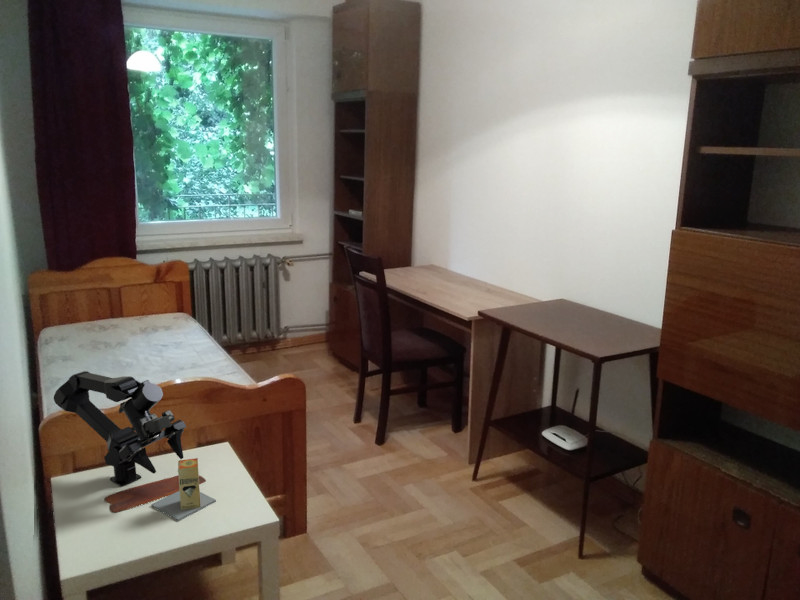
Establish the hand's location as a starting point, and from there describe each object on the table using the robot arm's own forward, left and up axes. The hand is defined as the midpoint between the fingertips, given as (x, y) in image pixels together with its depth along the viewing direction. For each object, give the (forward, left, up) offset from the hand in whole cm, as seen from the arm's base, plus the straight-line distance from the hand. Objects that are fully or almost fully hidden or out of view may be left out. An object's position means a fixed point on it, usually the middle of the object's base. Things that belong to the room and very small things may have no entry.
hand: (169, 465), depth 174 cm
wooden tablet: (-6, 0, -10) cm, 12 cm away
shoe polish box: (+8, 0, -9) cm, 12 cm away
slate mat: (+6, 0, -9) cm, 11 cm away
